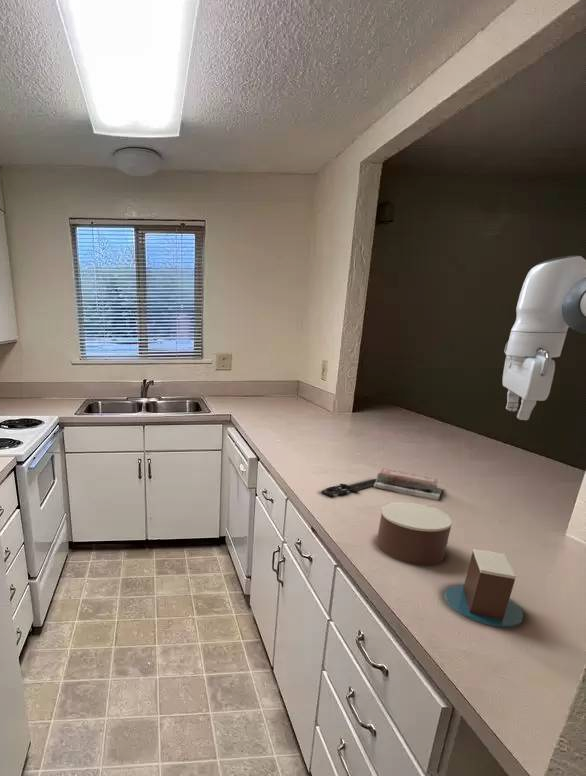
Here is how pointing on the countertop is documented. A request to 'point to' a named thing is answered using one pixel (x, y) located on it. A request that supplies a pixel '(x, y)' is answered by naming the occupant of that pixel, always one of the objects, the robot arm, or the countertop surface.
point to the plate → (459, 604)
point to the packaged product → (408, 484)
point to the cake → (413, 532)
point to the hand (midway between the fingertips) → (516, 414)
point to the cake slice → (488, 583)
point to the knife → (348, 488)
